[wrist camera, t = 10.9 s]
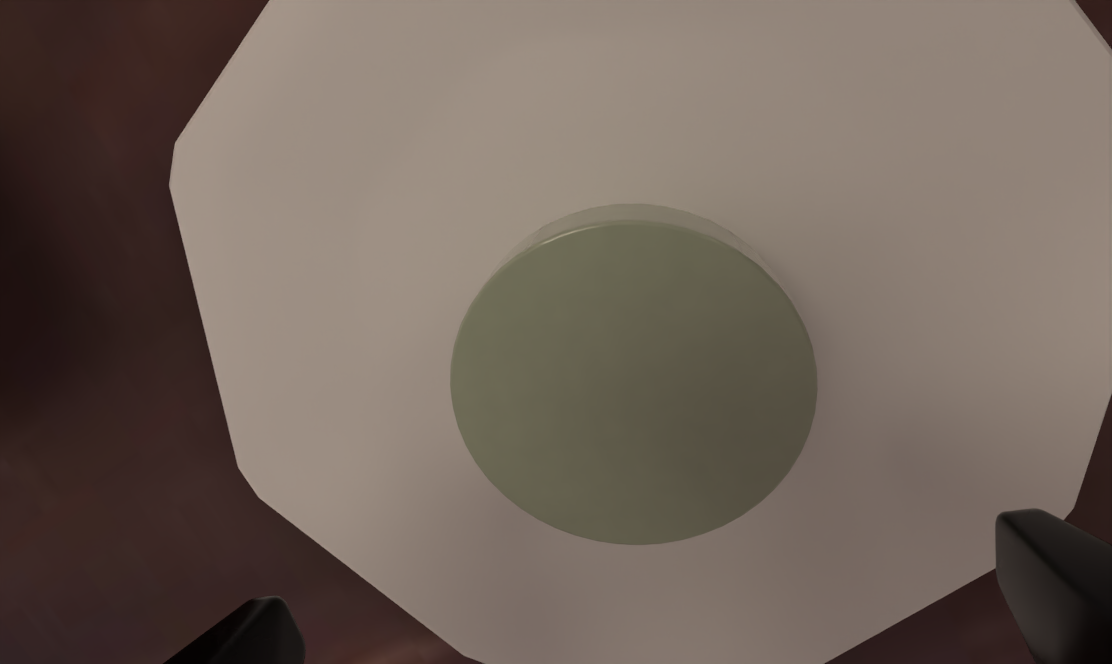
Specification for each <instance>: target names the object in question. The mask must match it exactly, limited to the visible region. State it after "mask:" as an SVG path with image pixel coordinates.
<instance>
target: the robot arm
mask: <svg viewBox="0 0 1112 664" xmlns="http://www.w3.org/2000/svg"><path fill="white" fill-rule="evenodd" d="M995 551H996V574H997V579H998V583H999V586H1000V589H1001V591H1002V593H1003V596H1004V598H1005V600H1006V602H1007V604H1008V606H1009V608H1010V610H1011V612H1012V614H1013V617H1014V619H1015V621H1016V623H1017V625H1018V627H1019V629H1020V631H1021V633H1022V635H1023V637H1024V640H1025V642H1026V644H1027V646H1028V648H1029V650H1030V652H1031V654H1032V656H1033V658H1034V661H1035V663H1036V664H1112V545H1111V544H1109V543H1107V542H1105V541H1103V540H1101V539H1099V538H1097V537H1095V536H1093V535H1092V534H1090V533H1088V532H1086V531H1084V530H1082V529H1080V528H1078V527H1076V526H1074V525H1072V524H1070V523H1068V522H1066V521H1064V520H1062V519H1060V518H1058V517H1056V516H1054V515H1052V514H1050V513H1048V512H1046V511H1044V510H1041V509H1037V508H1030V509H1021V510H1013V511H1004V512H1001V513H1000V514H999V515H998V516H997V518H996V522H995ZM305 651H306V650H305V641H304V638H303V635H302V633H301V631H300V629H299V627H298V625H297V623H296V621H295V619H294V617H293V615H292V613H291V611H290V609H289V607H288V605H287V603H286V602H285V600H283V599H282V598H281V597H278V596H269V597H260V598H254V599H251V600H249V601H247V602H246V603H244V604H243V605H242V606H240V607H239V608H237V609H236V610H235V611H233V612H232V613H231V614H229V615H228V616H227V617H225V618H224V619H223V620H221V621H220V622H219V623H217V624H216V625H215V626H213V627H212V628H210V629H209V630H208V631H206V632H205V633H204V634H202V635H201V636H200V637H198V638H197V639H196V640H194V641H193V642H192V643H190V644H189V645H188V646H186V647H185V648H183V649H182V650H181V651H179V652H178V653H177V654H175V655H174V656H173V657H171V658H170V659H169V660H167V661H166V662H165V663H163V664H303V663H304V659H305Z"/></svg>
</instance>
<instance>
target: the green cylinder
mask: <svg viewBox="0 0 1112 664" xmlns="http://www.w3.org/2000/svg"><path fill="white" fill-rule="evenodd" d="M450 390H451V398H452V406H453V410H454V414H455V417H456V421H457V425H458V428H459V430H460V433H461V435H462V438H463V440H464V442H465V445H466V447H467V448H468V450H469V452H470V454H471V455H472V457H473V459H474V461H475V462H476V464H477V465H478V466H479V468H480V469H481V470H482V472H483V473H484V474H485V476H486V477H487V478H488V480H489V481H490V482H491V483H492V484H493V485H494V486H495V487H496V488H497V489H498V490H499V491H500V492H501V493H502V494H503V495H504V496H505V497H507V498H508V499H509V500H510V501H512V502H513V503H514V504H515V505H517V506H518V507H519V508H521V509H522V510H524V511H525V512H527V513H528V514H530V515H531V516H533V517H535V518H536V519H538V520H540V521H542V522H544V523H546V524H548V525H550V526H552V527H554V528H556V529H559V530H562V531H564V532H567V533H570V534H572V535H575V536H579V537H583V538H587V539H591V540H595V541H600V542H607V543H614V544H627V545H648V544H662V543H668V542H674V541H680V540H684V539H688V538H691V537H695V536H698V535H702V534H705V533H707V532H710V531H712V530H715V529H717V528H720V527H722V526H724V525H726V524H728V523H730V522H731V521H733V520H735V519H737V518H739V517H741V516H742V515H744V514H745V513H747V512H748V511H749V510H751V509H752V508H753V507H755V506H756V505H758V504H759V503H760V502H761V501H762V500H764V499H765V498H766V497H767V496H768V495H769V494H770V493H771V492H772V491H773V490H774V489H775V488H776V487H777V486H778V485H779V484H780V482H781V481H782V480H783V479H784V478H785V476H786V475H787V474H788V473H789V471H790V470H791V468H792V467H793V465H794V463H795V462H796V460H797V458H798V457H799V455H800V454H801V451H802V449H803V447H804V444H805V442H806V440H807V438H808V435H809V433H810V429H811V426H812V422H813V418H814V415H815V409H816V401H817V392H818V386H817V367H816V362H815V357H814V352H813V347H812V344H811V341H810V338H809V335H808V333H807V330H806V327H805V324H804V323H803V321H802V319H801V317H800V315H799V313H798V312H797V310H796V308H795V306H794V304H793V302H792V301H791V299H790V297H789V295H788V293H787V292H786V290H785V288H784V286H783V285H782V283H781V281H780V279H779V278H778V277H777V275H776V274H775V273H774V271H773V270H772V269H771V267H770V266H769V265H768V264H767V262H766V261H765V260H764V259H763V258H762V257H761V256H760V255H759V254H758V253H757V252H756V251H755V250H754V249H753V248H752V247H751V246H749V245H748V244H747V243H745V242H744V241H743V240H741V239H740V238H739V237H737V236H736V235H735V234H733V233H732V232H730V231H729V230H727V229H725V228H723V227H721V226H720V225H718V224H716V223H714V222H712V221H711V220H708V219H705V218H703V217H700V216H698V215H695V214H692V213H690V212H687V211H683V210H679V209H675V208H670V207H666V206H659V205H650V204H641V203H636V204H612V205H605V206H599V207H592V208H589V209H585V210H582V211H578V212H575V213H571V214H568V215H566V216H564V217H562V218H559V219H557V220H555V221H552V222H550V223H548V224H546V225H545V226H543V227H541V228H540V229H538V230H536V231H535V232H533V233H532V234H530V235H528V236H527V237H526V238H525V239H523V240H522V241H521V242H520V243H519V244H517V245H516V246H515V247H514V248H512V249H511V250H510V251H509V253H508V254H507V255H506V256H505V257H504V258H503V259H502V260H501V261H500V262H499V263H498V264H497V266H496V267H495V268H494V270H493V271H492V273H491V274H490V276H489V277H488V279H487V280H486V281H485V283H484V284H483V286H482V288H481V289H480V291H479V292H478V294H477V295H476V297H475V298H474V300H473V301H472V303H471V305H470V307H469V309H468V311H467V313H466V315H465V317H464V319H463V321H462V323H461V325H460V328H459V331H458V334H457V337H456V340H455V343H454V348H453V354H452V359H451V367H450Z"/></svg>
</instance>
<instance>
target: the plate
mask: <svg viewBox="0 0 1112 664" xmlns="http://www.w3.org/2000/svg"><path fill="white" fill-rule="evenodd" d="M169 187H170V191H171V195H172V199H173V204H174V208H175V212H176V216H177V220H178V224H179V228H180V232H181V236H182V240H183V244H184V248H185V253H186V257H187V261H188V265H189V269H190V273H191V277H192V281H193V285H194V289H195V293H196V298H197V302H198V306H199V310H200V314H201V318H202V322H203V326H204V330H205V334H206V338H207V342H208V347H209V351H210V355H211V359H212V363H213V367H214V371H215V375H216V379H217V383H218V387H219V392H220V396H221V400H222V404H223V408H224V412H225V416H226V420H227V424H228V428H229V432H230V436H231V441H232V445H233V449H234V453H235V457H236V461H237V465H238V468H239V470H240V471H241V472H242V474H243V475H244V477H245V478H246V480H247V481H248V483H249V484H250V486H251V487H252V488H253V490H254V491H255V493H256V494H257V496H258V497H259V498H260V499H261V500H263V501H264V502H265V503H266V504H268V505H269V506H270V507H272V508H273V509H274V510H276V511H277V512H278V513H279V514H281V515H282V516H283V517H285V518H286V519H287V520H288V521H290V522H291V523H292V524H294V525H295V526H296V527H298V528H299V529H300V530H301V531H303V532H304V533H305V534H307V535H308V536H309V537H311V538H312V539H313V540H314V541H316V542H317V543H318V544H320V545H321V546H322V547H324V548H325V549H326V550H327V551H329V552H330V553H331V554H333V555H334V556H335V557H336V558H338V559H339V560H340V561H342V562H343V563H344V564H346V565H347V566H348V567H349V568H351V569H352V570H353V571H355V572H356V573H357V574H359V575H360V576H361V577H362V578H364V579H365V580H366V581H368V582H369V583H370V584H371V585H373V586H374V587H375V588H377V589H378V590H379V591H381V592H382V593H383V594H384V595H386V596H387V597H388V598H390V599H391V600H392V601H394V602H395V603H396V604H397V605H399V606H400V607H401V608H403V609H404V610H405V611H407V612H408V613H409V614H410V615H412V616H413V617H414V618H416V619H417V620H418V621H419V622H421V623H422V624H423V625H425V626H426V627H427V628H429V629H430V630H431V631H432V632H434V633H435V634H436V635H438V636H439V637H440V638H442V639H443V640H444V641H445V642H447V643H448V644H449V645H451V646H452V647H453V648H454V649H456V650H457V651H458V652H460V653H461V654H462V655H464V656H466V657H469V658H471V659H474V660H477V661H479V662H482V663H485V664H824V663H826V662H828V661H830V660H831V659H833V658H835V657H837V656H839V655H840V654H842V653H844V652H846V651H848V650H849V649H851V648H853V647H855V646H857V645H858V644H860V643H862V642H864V641H866V640H867V639H869V638H871V637H873V636H874V635H876V634H878V633H880V632H882V631H883V630H885V629H887V628H889V627H891V626H892V625H894V624H896V623H898V622H900V621H901V620H903V619H905V618H907V617H909V616H910V615H912V614H914V613H916V612H918V611H919V610H921V609H923V608H925V607H926V606H928V605H930V604H932V603H934V602H935V601H937V600H939V599H941V598H943V597H944V596H946V595H948V594H950V593H952V592H953V591H955V590H957V589H959V588H961V587H962V586H964V585H966V584H968V583H969V582H971V581H973V580H975V579H977V578H978V577H980V576H982V575H984V574H986V573H987V572H989V571H991V570H993V569H995V568H996V551H995V522H996V518H997V516H998V515H999V514H1000V513H1001V512H1004V511H1013V510H1021V509H1030V508H1037V509H1041V510H1044V511H1046V512H1048V513H1050V514H1052V515H1054V516H1056V517H1058V518H1060V519H1062V520H1064V519H1065V518H1066V516H1067V515H1068V514H1069V513H1070V512H1071V511H1072V510H1073V508H1074V506H1075V503H1076V500H1077V497H1078V494H1079V491H1080V488H1081V485H1082V482H1083V479H1084V476H1085V473H1086V470H1087V467H1088V464H1089V461H1090V458H1091V455H1092V452H1093V449H1094V446H1095V443H1096V440H1097V437H1098V434H1099V431H1100V427H1101V424H1102V421H1103V418H1104V415H1105V412H1106V409H1107V406H1108V403H1109V400H1110V397H1111V394H1112V49H1111V48H1110V46H1109V45H1108V44H1107V43H1106V41H1105V40H1104V39H1103V37H1102V36H1101V35H1100V33H1099V32H1098V31H1097V29H1096V28H1095V27H1094V25H1093V24H1092V23H1091V21H1090V20H1089V19H1088V17H1087V16H1086V15H1085V13H1084V12H1083V11H1082V9H1081V8H1080V7H1079V5H1078V4H1077V3H1076V1H1075V0H269V2H268V3H267V5H266V6H265V8H264V9H263V11H262V12H261V14H260V15H259V17H258V18H257V20H256V21H255V23H254V24H253V26H252V27H251V29H250V31H249V32H248V34H247V35H246V37H245V38H244V40H243V41H242V43H241V44H240V46H239V47H238V49H237V50H236V52H235V53H234V55H233V56H232V58H231V59H230V61H229V62H228V64H227V65H226V67H225V68H224V70H223V71H222V73H221V74H220V76H219V77H218V79H217V80H216V82H215V83H214V85H213V86H212V88H211V89H210V91H209V92H208V94H207V95H206V97H205V98H204V100H203V102H202V103H201V105H200V106H199V108H198V109H197V111H196V112H195V114H194V115H193V117H192V118H191V120H190V121H189V123H188V124H187V126H186V127H185V129H184V130H183V132H182V133H181V135H180V136H179V138H178V139H177V141H176V142H175V146H174V153H173V160H172V167H171V175H170V182H169ZM636 203H641V204H650V205H659V206H666V207H670V208H675V209H679V210H683V211H687V212H690V213H692V214H695V215H698V216H700V217H703V218H705V219H708V220H711V221H712V222H714V223H716V224H718V225H720V226H721V227H723V228H725V229H727V230H729V231H730V232H732V233H733V234H735V235H736V236H737V237H739V238H740V239H741V240H743V241H744V242H745V243H747V244H748V245H749V246H751V247H752V248H753V249H754V250H755V251H756V252H757V253H758V254H759V255H760V256H761V257H762V258H763V259H764V260H765V261H766V262H767V264H768V265H769V266H770V267H771V269H772V270H773V271H774V273H775V274H776V275H777V277H778V278H779V279H780V281H781V283H782V285H783V286H784V288H785V290H786V292H787V293H788V295H789V297H790V299H791V301H792V302H793V304H794V306H795V308H796V310H797V312H798V313H799V315H800V317H801V319H802V321H803V323H804V324H805V327H806V330H807V333H808V335H809V338H810V341H811V344H812V347H813V352H814V357H815V362H816V367H817V386H818V392H817V401H816V409H815V415H814V418H813V422H812V426H811V429H810V433H809V435H808V438H807V440H806V442H805V444H804V447H803V449H802V451H801V454H800V455H799V457H798V458H797V460H796V462H795V463H794V465H793V467H792V468H791V470H790V471H789V473H788V474H787V475H786V476H785V478H784V479H783V480H782V481H781V482H780V484H779V485H778V486H777V487H776V488H775V489H774V490H773V491H772V492H771V493H770V494H769V495H768V496H767V497H766V498H765V499H764V500H762V501H761V502H760V503H759V504H758V505H756V506H755V507H753V508H752V509H751V510H749V511H748V512H747V513H745V514H744V515H742V516H741V517H739V518H737V519H735V520H733V521H731V522H730V523H728V524H726V525H724V526H722V527H720V528H717V529H715V530H712V531H710V532H707V533H705V534H702V535H698V536H695V537H691V538H688V539H684V540H680V541H674V542H668V543H662V544H648V545H627V544H614V543H607V542H600V541H595V540H591V539H587V538H583V537H579V536H575V535H572V534H570V533H567V532H564V531H562V530H559V529H556V528H554V527H552V526H550V525H548V524H546V523H544V522H542V521H540V520H538V519H536V518H535V517H533V516H531V515H530V514H528V513H527V512H525V511H524V510H522V509H521V508H519V507H518V506H517V505H515V504H514V503H513V502H512V501H510V500H509V499H508V498H507V497H505V496H504V495H503V494H502V493H501V492H500V491H499V490H498V489H497V488H496V487H495V486H494V485H493V484H492V483H491V482H490V481H489V480H488V478H487V477H486V476H485V474H484V473H483V472H482V470H481V469H480V468H479V466H478V465H477V464H476V462H475V461H474V459H473V457H472V455H471V454H470V452H469V450H468V448H467V447H466V445H465V442H464V440H463V438H462V435H461V433H460V430H459V428H458V425H457V421H456V417H455V414H454V410H453V406H452V398H451V390H450V367H451V359H452V354H453V348H454V343H455V340H456V337H457V334H458V331H459V328H460V325H461V323H462V321H463V319H464V317H465V315H466V313H467V311H468V309H469V307H470V305H471V303H472V301H473V300H474V298H475V297H476V295H477V294H478V292H479V291H480V289H481V288H482V286H483V284H484V283H485V281H486V280H487V279H488V277H489V276H490V274H491V273H492V271H493V270H494V268H495V267H496V266H497V264H498V263H499V262H500V261H501V260H502V259H503V258H504V257H505V256H506V255H507V254H508V253H509V251H510V250H511V249H512V248H514V247H515V246H516V245H517V244H519V243H520V242H521V241H522V240H523V239H525V238H526V237H527V236H528V235H530V234H532V233H533V232H535V231H536V230H538V229H540V228H541V227H543V226H545V225H546V224H548V223H550V222H552V221H555V220H557V219H559V218H562V217H564V216H566V215H568V214H571V213H575V212H578V211H582V210H585V209H589V208H592V207H599V206H605V205H612V204H636Z"/></svg>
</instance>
